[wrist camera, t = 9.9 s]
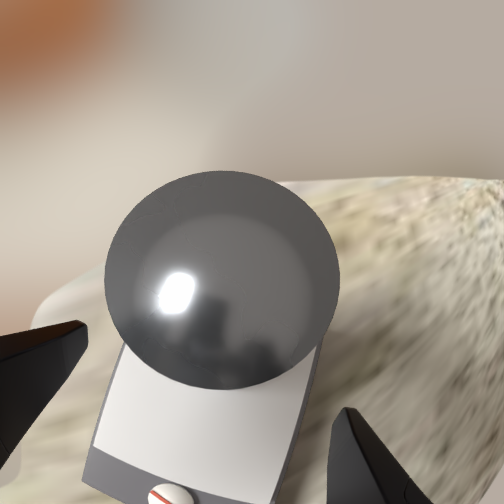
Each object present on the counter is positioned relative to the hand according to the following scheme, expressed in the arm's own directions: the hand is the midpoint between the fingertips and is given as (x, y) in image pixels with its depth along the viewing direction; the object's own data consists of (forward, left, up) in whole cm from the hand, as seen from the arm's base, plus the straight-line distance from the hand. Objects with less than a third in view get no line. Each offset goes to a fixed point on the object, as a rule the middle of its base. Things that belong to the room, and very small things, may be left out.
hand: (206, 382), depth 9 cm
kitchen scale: (-2, 0, -12) cm, 12 cm away
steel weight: (+2, 0, -8) cm, 8 cm away
